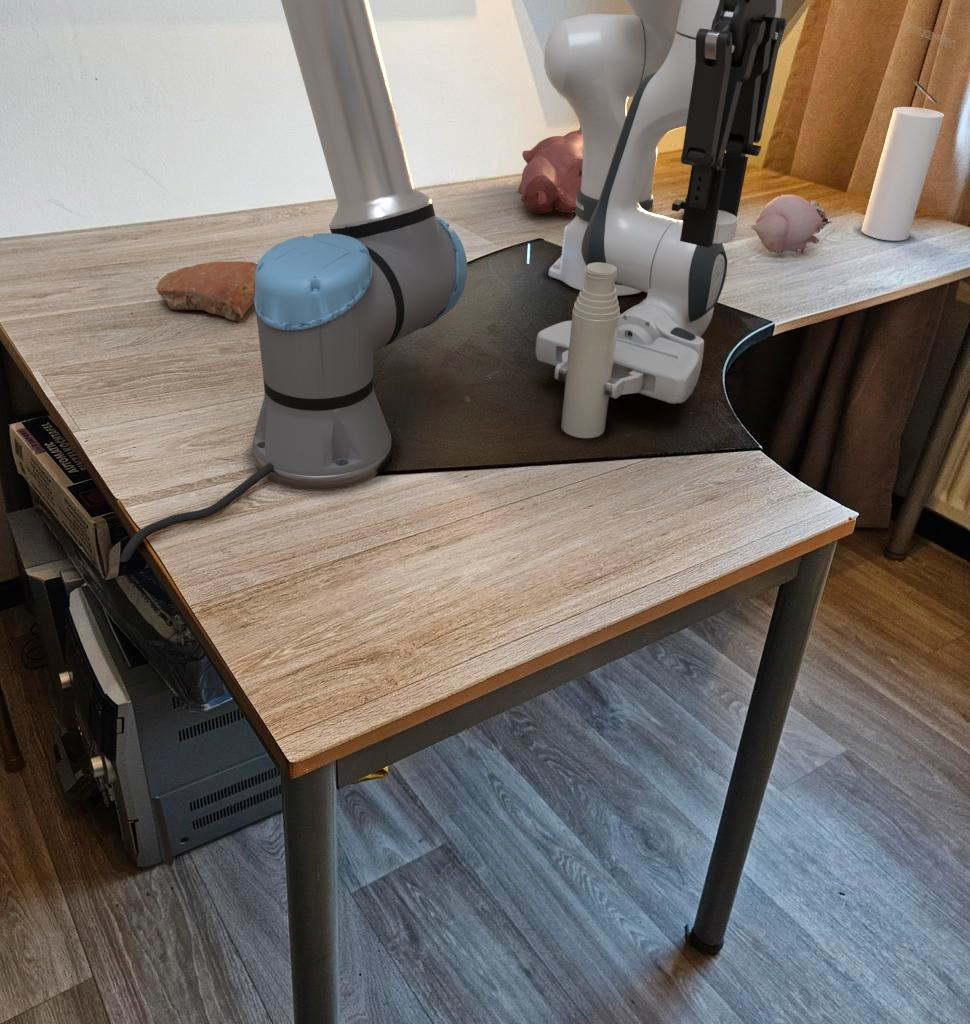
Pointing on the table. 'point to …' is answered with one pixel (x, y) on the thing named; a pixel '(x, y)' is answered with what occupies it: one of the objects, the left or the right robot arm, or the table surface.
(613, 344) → the bottle
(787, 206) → the toy
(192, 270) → the ceramic shard
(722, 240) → the cap
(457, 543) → the table surface
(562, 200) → the pink faceted figure
